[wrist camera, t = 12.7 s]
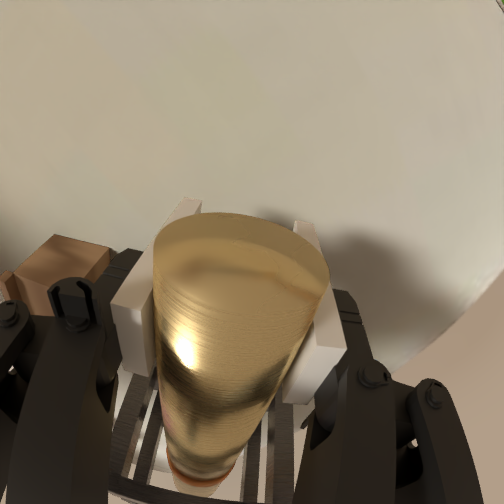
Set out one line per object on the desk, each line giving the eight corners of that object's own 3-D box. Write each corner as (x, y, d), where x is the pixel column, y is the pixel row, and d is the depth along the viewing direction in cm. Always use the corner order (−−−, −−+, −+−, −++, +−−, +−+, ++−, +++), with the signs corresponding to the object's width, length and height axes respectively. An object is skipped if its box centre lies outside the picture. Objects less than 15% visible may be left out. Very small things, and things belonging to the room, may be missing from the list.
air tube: (221, 464, 20) (217, 502, 17) (176, 457, 20) (169, 495, 16) (317, 228, 8) (353, 331, 5) (177, 201, 8) (115, 288, 4)
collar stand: (142, 377, 25) (105, 495, 13) (129, 264, 17) (27, 447, 6) (279, 404, 25) (277, 527, 14) (335, 306, 18) (370, 509, 7)
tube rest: (65, 310, 21) (33, 359, 16) (47, 232, 17) (-3, 279, 11) (127, 331, 21) (100, 389, 16) (118, 249, 17) (72, 310, 12)
